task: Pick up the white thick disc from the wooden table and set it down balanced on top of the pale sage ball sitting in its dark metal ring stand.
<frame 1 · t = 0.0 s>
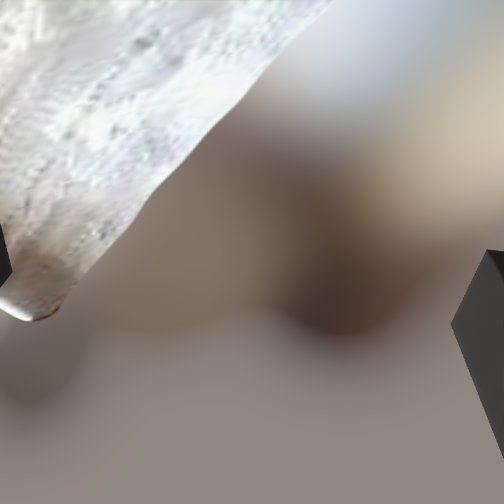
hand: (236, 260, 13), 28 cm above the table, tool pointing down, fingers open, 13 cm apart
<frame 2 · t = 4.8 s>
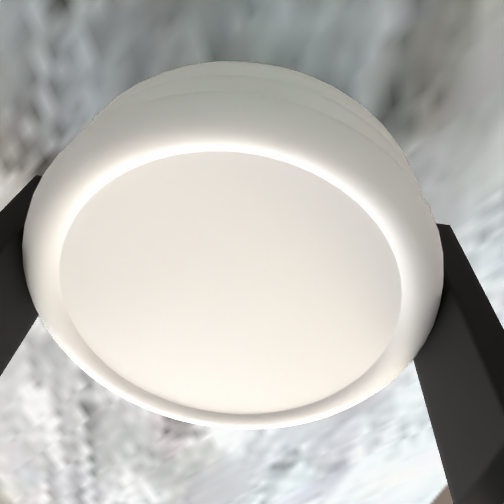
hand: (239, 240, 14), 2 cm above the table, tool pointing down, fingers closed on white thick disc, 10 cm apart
white thick disc: (241, 229, 14), point 2 cm above the table, touching gripper
when the fingers open (10 cm above the table, at t = 9.9 s): white thick disc stays where it is, resting on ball.
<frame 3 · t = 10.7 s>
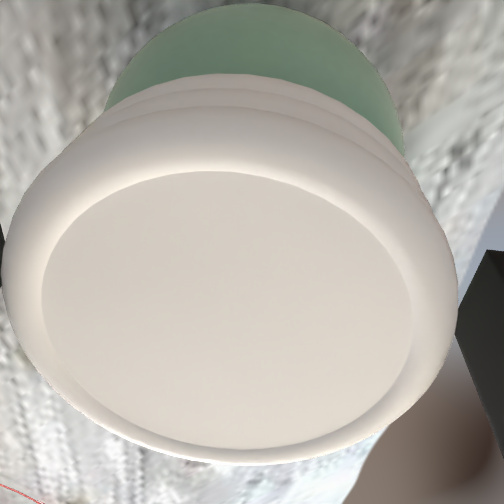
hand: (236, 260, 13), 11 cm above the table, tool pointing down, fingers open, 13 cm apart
white thick disc: (239, 250, 13), point 11 cm above the table, touching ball
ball: (258, 118, 22), on the table
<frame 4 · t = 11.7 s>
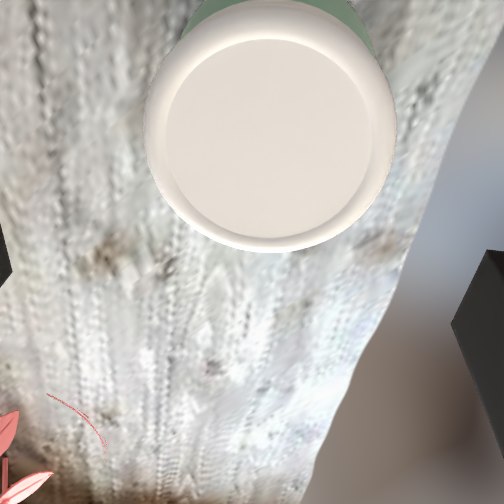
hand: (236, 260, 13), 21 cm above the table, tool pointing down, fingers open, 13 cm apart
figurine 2: (48, 439, 57), on the table
white thick disc: (270, 121, 21), point 11 cm above the table, touching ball
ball: (276, 63, 30), on the table
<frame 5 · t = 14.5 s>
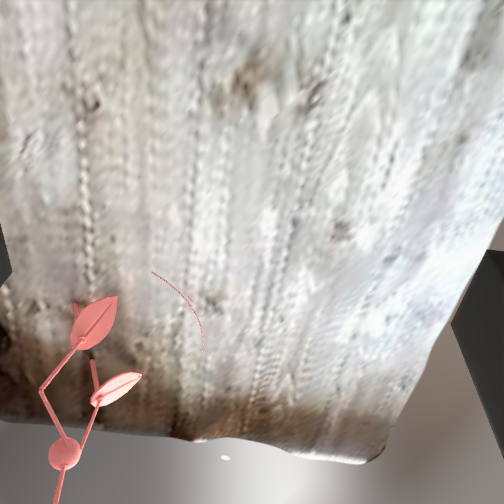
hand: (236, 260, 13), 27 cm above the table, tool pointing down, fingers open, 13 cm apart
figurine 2: (142, 335, 54), on the table
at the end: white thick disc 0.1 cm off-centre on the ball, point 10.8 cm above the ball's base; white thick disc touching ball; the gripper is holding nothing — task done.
